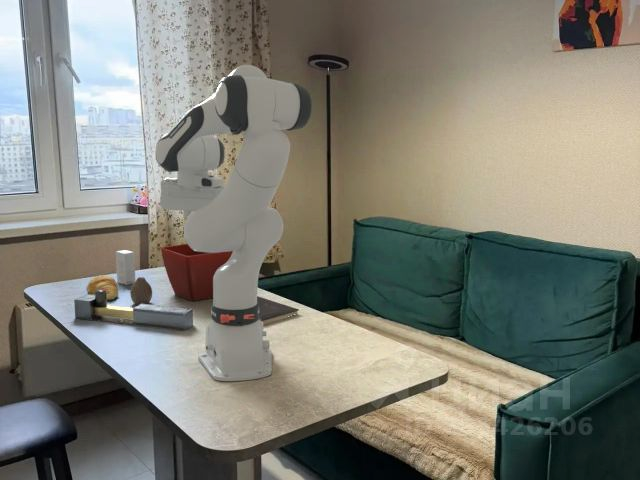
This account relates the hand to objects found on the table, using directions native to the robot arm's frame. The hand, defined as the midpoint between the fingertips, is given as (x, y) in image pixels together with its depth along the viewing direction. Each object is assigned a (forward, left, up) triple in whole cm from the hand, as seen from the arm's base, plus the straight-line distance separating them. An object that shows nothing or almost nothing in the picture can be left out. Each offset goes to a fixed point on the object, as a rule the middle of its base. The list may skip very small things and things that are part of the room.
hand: (193, 225), depth 172 cm
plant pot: (+27, -3, -29) cm, 40 cm away
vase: (+20, +16, -29) cm, 39 cm away
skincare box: (+48, +22, -29) cm, 60 cm away
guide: (+2, +18, -29) cm, 34 cm away
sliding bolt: (+4, +22, -28) cm, 36 cm away
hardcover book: (+4, -20, -30) cm, 36 cm away
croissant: (+34, +29, -30) cm, 54 cm away
